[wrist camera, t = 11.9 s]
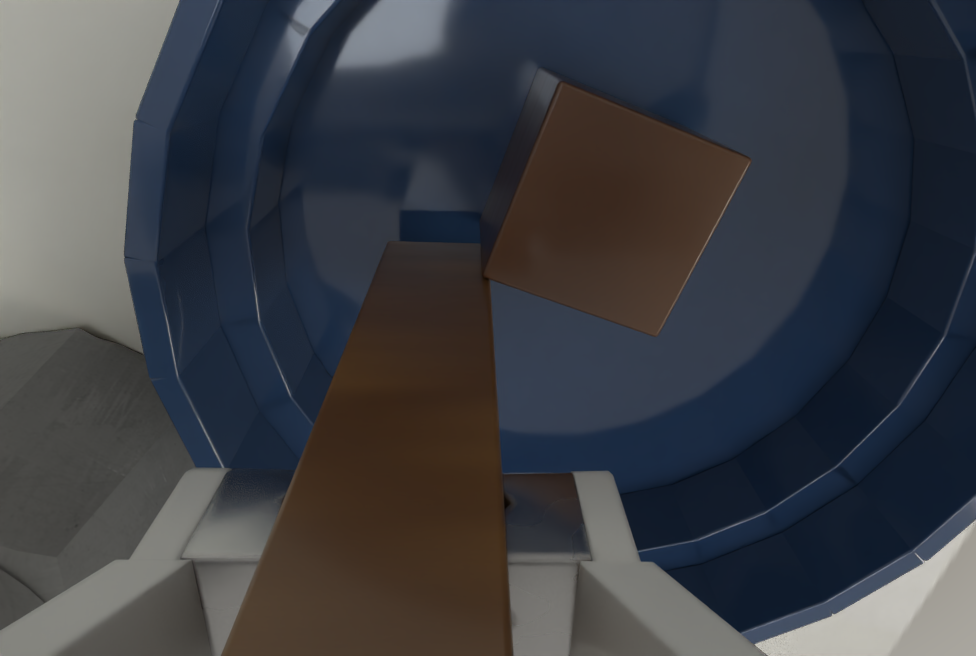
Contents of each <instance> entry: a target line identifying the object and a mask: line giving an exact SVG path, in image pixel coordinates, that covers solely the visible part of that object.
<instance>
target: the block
mask: <svg viewBox="0 0 976 656" xmlns="http://www.w3.org/2000/svg"><path fill="white" fill-rule="evenodd" d="M751 161H752V160H751V158H750V157H748V156H746V155H744V154H742V153H740V152H738V151H736V150H734V149H732V148H729V147H727V146H725V145H723V144H721V143H719V142H717V141H715V140H713V139H711V138H709V137H706V136H704V135H702V134H700V133H698V132H696V131H694V130H692V129H690V128H688V127H685V126H683V125H680V124H678V123H675V122H673V121H671V120H668V119H666V118H663V117H661V116H659V115H656V114H654V113H651V112H649V111H646V110H644V109H642V108H639V107H637V106H634V105H632V104H630V103H627V102H625V101H622V100H620V99H617V98H615V97H613V96H610V95H608V94H605V93H603V92H601V91H598V90H596V89H593V88H591V87H588V86H586V85H584V84H581V83H579V82H576V81H574V80H572V79H569V78H567V77H564V76H562V75H559V74H557V73H555V72H552V71H550V70H547V69H545V68H543V67H542V68H539V69H538V70H537V72H536V75H535V77H534V80H533V83H532V85H531V88H530V91H529V93H528V96H527V98H526V101H525V104H524V106H523V109H522V111H521V114H520V117H519V119H518V122H517V124H516V127H515V130H514V132H513V135H512V137H511V140H510V143H509V145H508V148H507V151H506V153H505V156H504V158H503V161H502V164H501V166H500V169H499V171H498V174H497V177H496V179H495V182H494V184H493V187H492V190H491V192H490V195H489V197H488V200H487V203H486V205H485V208H484V211H483V213H482V216H481V218H480V239H481V259H482V276H483V277H484V278H487V279H489V280H492V281H495V282H498V283H501V284H504V285H507V286H510V287H512V288H515V289H518V290H521V291H524V292H527V293H530V294H533V295H535V296H538V297H541V298H544V299H547V300H550V301H553V302H556V303H558V304H561V305H564V306H567V307H570V308H573V309H576V310H579V311H581V312H584V313H587V314H590V315H593V316H596V317H599V318H602V319H604V320H607V321H610V322H613V323H616V324H619V325H622V326H625V327H627V328H630V329H633V330H636V331H639V332H642V333H645V334H648V335H650V336H653V337H657V336H658V335H659V333H660V331H661V330H662V328H663V326H664V324H665V322H666V320H667V318H668V317H669V315H670V313H671V311H672V309H673V307H674V305H675V304H676V302H677V300H678V298H679V296H680V294H681V292H682V291H683V289H684V287H685V285H686V283H687V281H688V279H689V278H690V276H691V274H692V272H693V270H694V268H695V266H696V265H697V263H698V261H699V259H700V257H701V255H702V253H703V252H704V250H705V248H706V246H707V244H708V242H709V240H710V239H711V237H712V235H713V233H714V231H715V229H716V227H717V226H718V224H719V222H720V220H721V218H722V216H723V214H724V213H725V211H726V209H727V207H728V205H729V203H730V201H731V200H732V198H733V196H734V194H735V192H736V190H737V188H738V187H739V185H740V183H741V181H742V179H743V177H744V175H745V174H746V172H747V170H748V168H749V166H750V164H751Z"/></svg>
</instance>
